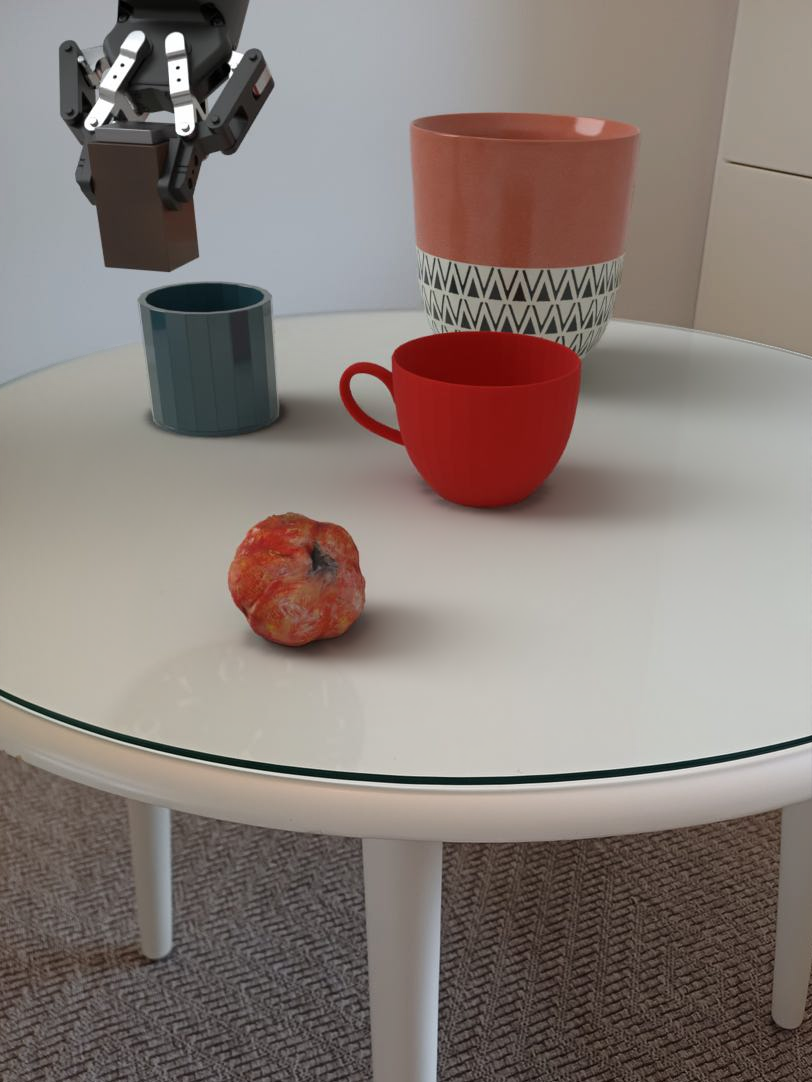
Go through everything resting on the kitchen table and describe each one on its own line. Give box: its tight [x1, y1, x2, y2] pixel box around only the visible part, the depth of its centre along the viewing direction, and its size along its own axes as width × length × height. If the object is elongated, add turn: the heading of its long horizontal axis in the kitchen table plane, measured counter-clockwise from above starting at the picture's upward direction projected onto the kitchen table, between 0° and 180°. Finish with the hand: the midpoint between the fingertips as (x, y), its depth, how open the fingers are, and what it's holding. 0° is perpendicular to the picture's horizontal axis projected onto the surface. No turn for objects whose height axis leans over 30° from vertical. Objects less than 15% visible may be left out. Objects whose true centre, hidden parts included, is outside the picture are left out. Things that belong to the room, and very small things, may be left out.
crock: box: [136, 280, 280, 438], centre depth 91 cm, size 10×10×10 cm
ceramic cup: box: [338, 331, 582, 509], centre depth 79 cm, size 13×17×10 cm
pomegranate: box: [227, 511, 366, 647], centre depth 62 cm, size 7×7×10 cm
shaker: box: [87, 121, 200, 273], centre depth 69 cm, size 4×4×8 cm
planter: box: [408, 111, 642, 361], centre depth 100 cm, size 20×20×21 cm
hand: (130, 199), depth 68 cm, fingers closed on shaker, 4 cm apart
